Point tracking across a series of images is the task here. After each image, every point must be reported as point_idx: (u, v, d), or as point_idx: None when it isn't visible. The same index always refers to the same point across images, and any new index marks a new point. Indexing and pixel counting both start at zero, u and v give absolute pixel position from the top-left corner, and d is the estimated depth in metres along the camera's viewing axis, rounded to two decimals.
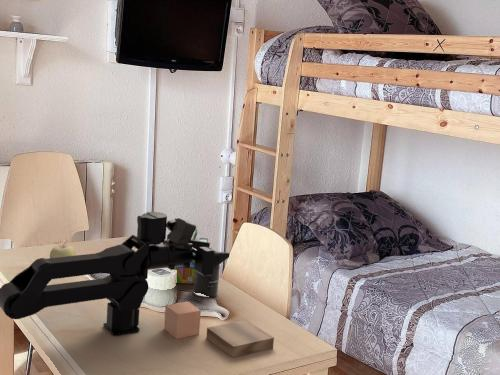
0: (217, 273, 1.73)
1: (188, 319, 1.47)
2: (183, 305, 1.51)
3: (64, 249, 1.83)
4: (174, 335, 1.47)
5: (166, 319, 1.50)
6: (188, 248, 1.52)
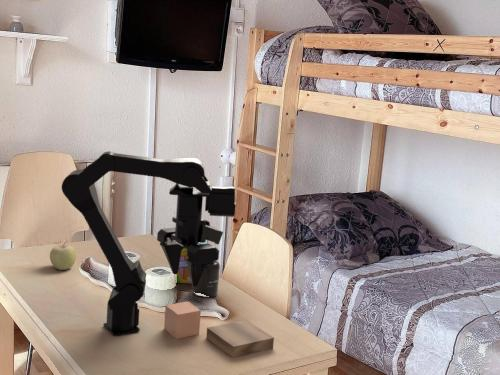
0: (217, 273, 1.73)
1: (188, 319, 1.47)
2: (183, 305, 1.51)
3: (64, 249, 1.83)
4: (174, 335, 1.47)
5: (166, 319, 1.50)
6: (202, 238, 1.45)
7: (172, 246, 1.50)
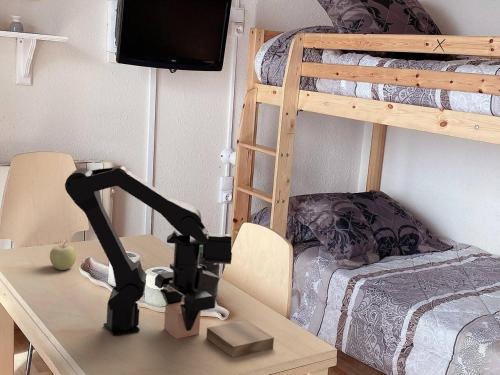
0: (217, 273, 1.73)
1: None
2: None
3: (64, 249, 1.83)
4: (174, 335, 1.47)
5: (166, 319, 1.50)
6: (199, 285, 1.47)
7: (172, 293, 1.51)
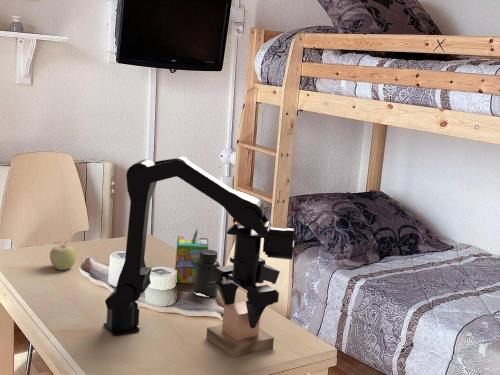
0: None
1: (248, 320, 1.43)
2: (242, 305, 1.47)
3: (64, 249, 1.83)
4: (234, 336, 1.43)
5: (225, 319, 1.46)
6: (260, 279, 1.43)
7: (227, 285, 1.48)
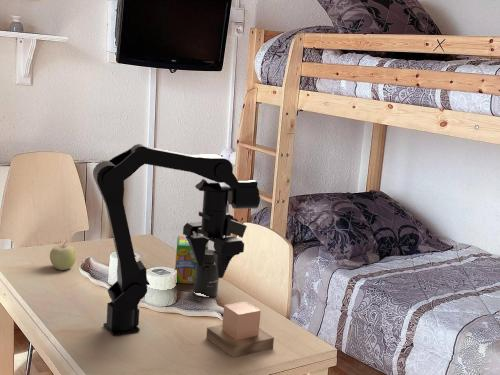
0: None
1: (248, 320, 1.43)
2: (242, 305, 1.47)
3: (64, 249, 1.83)
4: (234, 336, 1.43)
5: (225, 319, 1.46)
6: (227, 231, 1.51)
7: (197, 239, 1.56)
